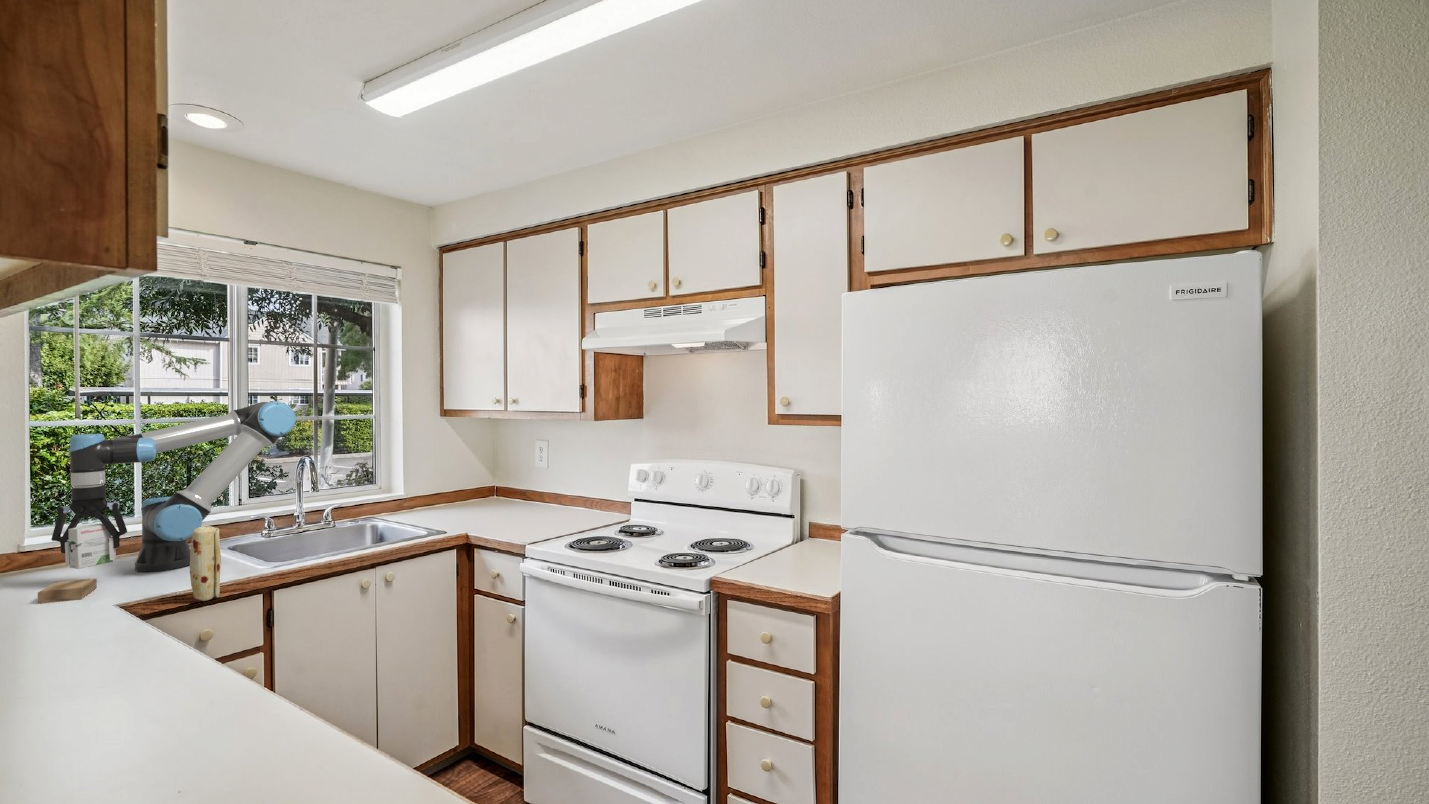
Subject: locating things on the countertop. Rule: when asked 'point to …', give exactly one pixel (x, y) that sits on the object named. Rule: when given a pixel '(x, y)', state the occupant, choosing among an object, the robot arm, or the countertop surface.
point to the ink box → (88, 546)
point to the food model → (205, 563)
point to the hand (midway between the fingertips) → (91, 561)
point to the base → (67, 590)
